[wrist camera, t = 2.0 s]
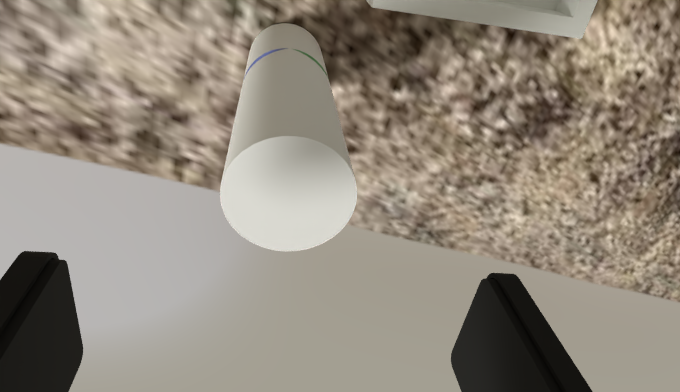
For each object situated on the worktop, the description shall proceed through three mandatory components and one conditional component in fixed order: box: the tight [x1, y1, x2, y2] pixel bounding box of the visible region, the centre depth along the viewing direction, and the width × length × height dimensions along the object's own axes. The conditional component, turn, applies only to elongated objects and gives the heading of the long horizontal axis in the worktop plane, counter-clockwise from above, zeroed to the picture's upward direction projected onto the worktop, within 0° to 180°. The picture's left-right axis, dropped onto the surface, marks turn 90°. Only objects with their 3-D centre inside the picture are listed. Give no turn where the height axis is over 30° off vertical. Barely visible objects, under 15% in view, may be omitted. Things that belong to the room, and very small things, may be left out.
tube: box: [220, 23, 357, 251], centre depth 21 cm, size 4×4×15 cm
